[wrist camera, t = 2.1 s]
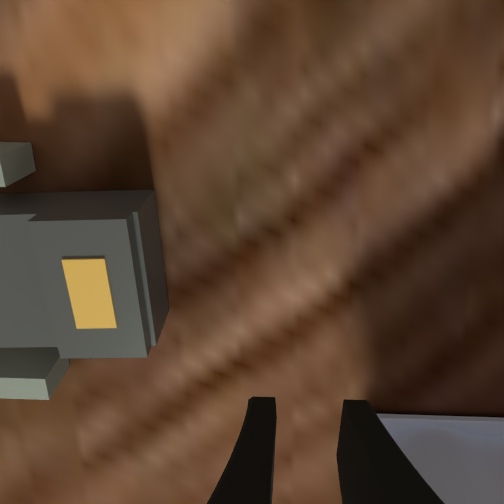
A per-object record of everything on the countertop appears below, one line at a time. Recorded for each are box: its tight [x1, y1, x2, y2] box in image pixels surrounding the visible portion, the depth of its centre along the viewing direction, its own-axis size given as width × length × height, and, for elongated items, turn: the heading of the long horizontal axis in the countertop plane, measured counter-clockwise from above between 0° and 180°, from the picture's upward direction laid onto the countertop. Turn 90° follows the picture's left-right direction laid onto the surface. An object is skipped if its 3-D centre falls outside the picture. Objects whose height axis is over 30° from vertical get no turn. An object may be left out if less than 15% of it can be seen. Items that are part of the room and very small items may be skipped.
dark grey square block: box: [0, 190, 169, 358], centre depth 19 cm, size 7×6×4 cm
